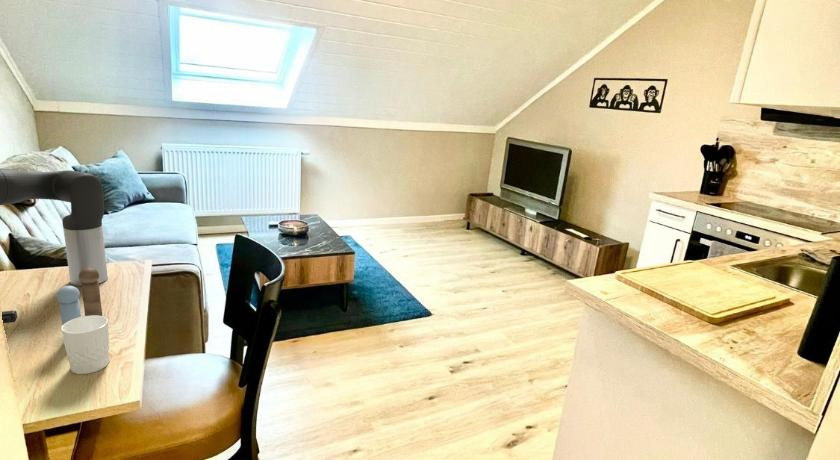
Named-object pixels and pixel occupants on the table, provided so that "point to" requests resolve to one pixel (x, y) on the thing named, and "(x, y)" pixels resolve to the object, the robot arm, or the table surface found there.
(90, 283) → the walnut pin
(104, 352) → the white cup
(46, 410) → the table surface
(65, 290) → the blue pin
